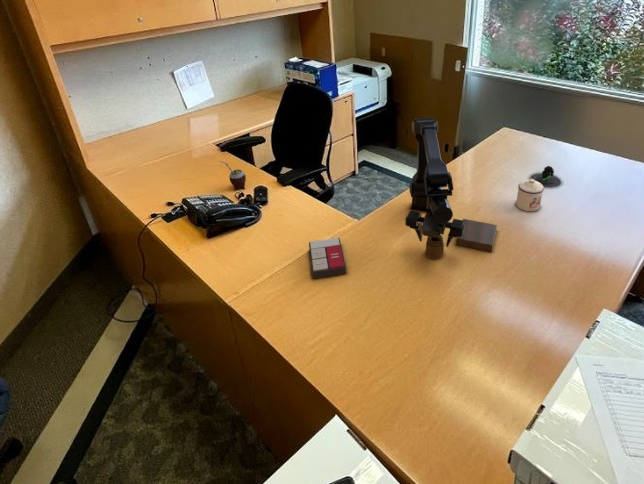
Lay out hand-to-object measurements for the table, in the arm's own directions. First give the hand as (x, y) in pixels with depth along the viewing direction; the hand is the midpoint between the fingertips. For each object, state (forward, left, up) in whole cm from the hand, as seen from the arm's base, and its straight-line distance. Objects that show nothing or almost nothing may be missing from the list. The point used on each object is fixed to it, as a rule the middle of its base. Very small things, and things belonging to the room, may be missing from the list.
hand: (433, 243), depth 139 cm
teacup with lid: (+28, +41, -5) cm, 50 cm away
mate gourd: (-94, +15, -5) cm, 95 cm away
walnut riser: (+12, +13, -4) cm, 19 cm away
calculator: (-33, -16, -5) cm, 37 cm away
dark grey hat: (+33, +62, -5) cm, 71 cm away
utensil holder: (0, 0, -5) cm, 5 cm away
